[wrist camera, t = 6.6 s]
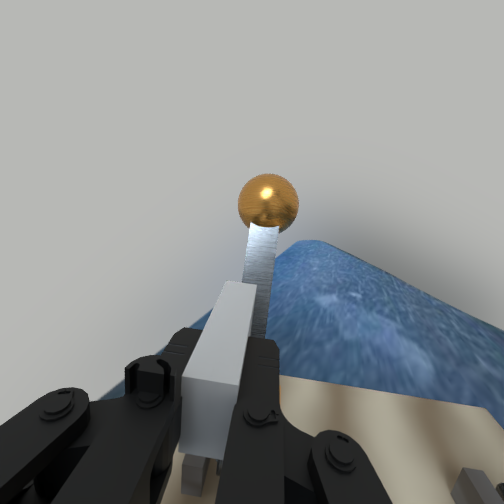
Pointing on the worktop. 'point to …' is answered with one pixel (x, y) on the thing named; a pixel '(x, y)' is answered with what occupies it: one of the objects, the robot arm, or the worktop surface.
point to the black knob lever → (500, 490)
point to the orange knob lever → (264, 239)
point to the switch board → (381, 444)
